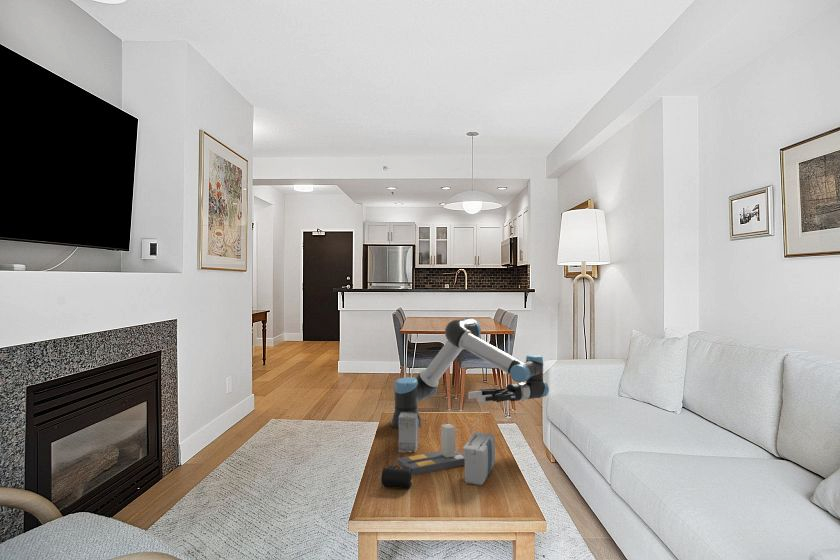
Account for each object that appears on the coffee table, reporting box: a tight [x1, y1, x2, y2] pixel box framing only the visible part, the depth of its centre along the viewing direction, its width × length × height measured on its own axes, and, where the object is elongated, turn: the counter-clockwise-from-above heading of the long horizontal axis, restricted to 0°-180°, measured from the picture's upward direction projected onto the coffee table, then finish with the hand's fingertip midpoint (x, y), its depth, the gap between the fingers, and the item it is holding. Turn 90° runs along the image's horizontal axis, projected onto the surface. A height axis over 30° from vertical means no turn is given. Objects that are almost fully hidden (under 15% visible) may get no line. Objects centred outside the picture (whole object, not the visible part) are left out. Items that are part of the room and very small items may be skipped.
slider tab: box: [440, 423, 457, 458], centre depth 196 cm, size 5×4×12 cm
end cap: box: [380, 465, 413, 490], centre depth 172 cm, size 10×7×7 cm
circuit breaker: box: [397, 412, 420, 453], centre depth 214 cm, size 8×14×15 cm, turn 174°
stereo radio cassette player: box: [461, 415, 496, 487], centre depth 183 cm, size 21×8×20 cm, turn 160°
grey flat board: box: [396, 449, 465, 476], centre depth 193 cm, size 12×26×3 cm, turn 116°
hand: (473, 397), depth 205 cm, fingers open, 7 cm apart
